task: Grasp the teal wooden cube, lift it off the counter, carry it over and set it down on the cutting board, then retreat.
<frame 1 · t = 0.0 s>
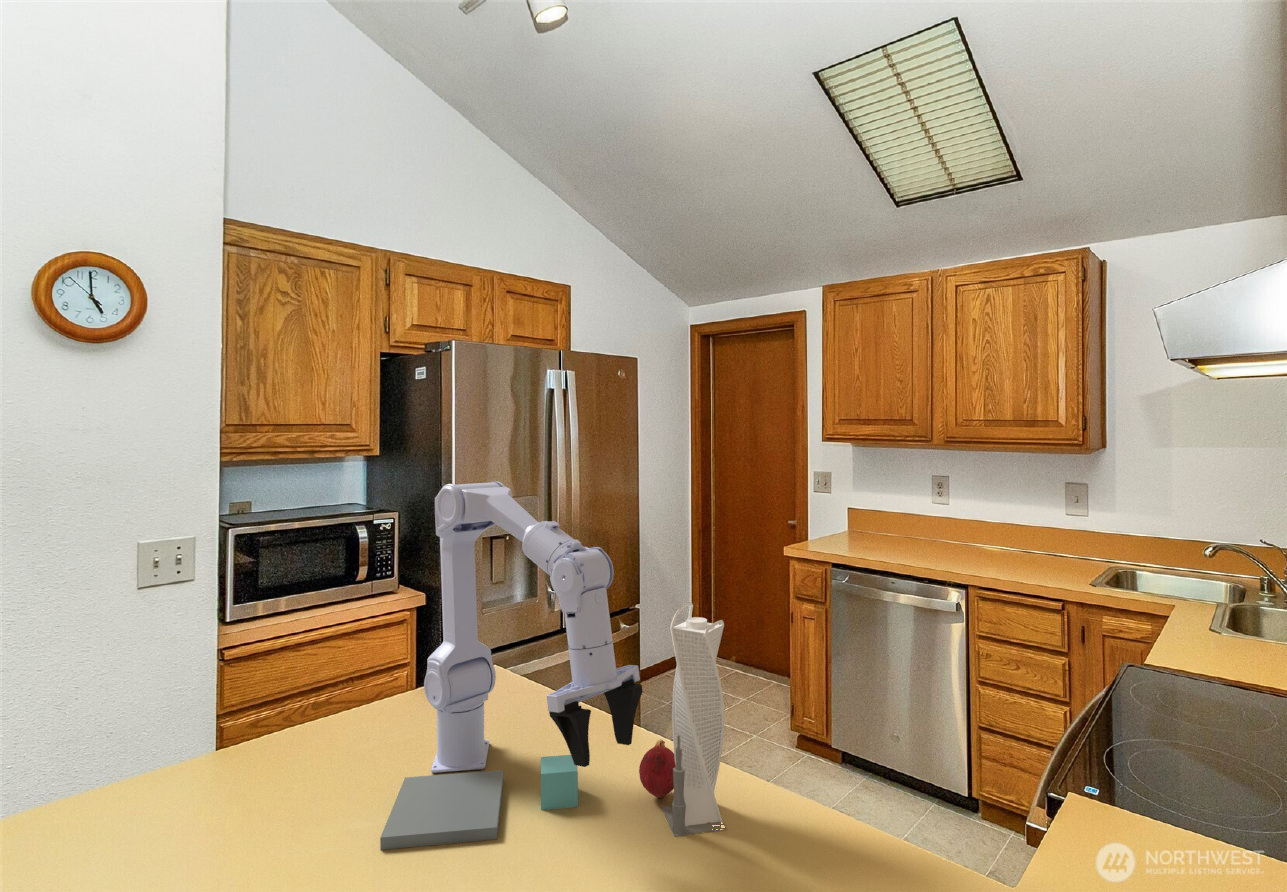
hand: (603, 753, 85), 11 cm above the counter, tool pointing down, fingers open, 7 cm apart
cube: (559, 799, 94), on the counter
cutting board: (447, 811, 91), on the counter
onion: (659, 798, 94), on the counter
skyscraper: (695, 818, 90), on the counter
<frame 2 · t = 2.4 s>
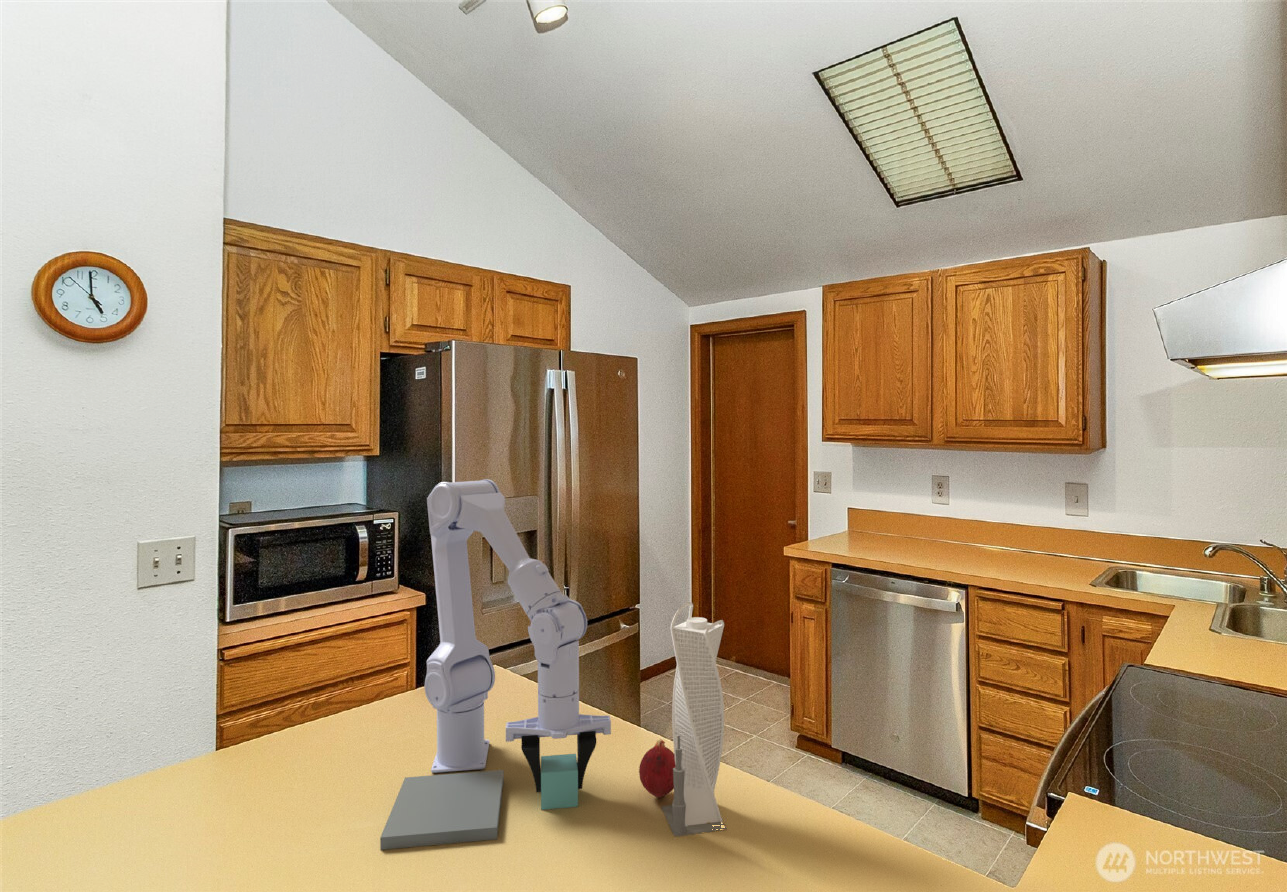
hand: (559, 786, 94), 2 cm above the counter, tool pointing down, fingers closed on cube, 5 cm apart
cube: (559, 798, 94), on the counter, touching gripper
everything else where it was.
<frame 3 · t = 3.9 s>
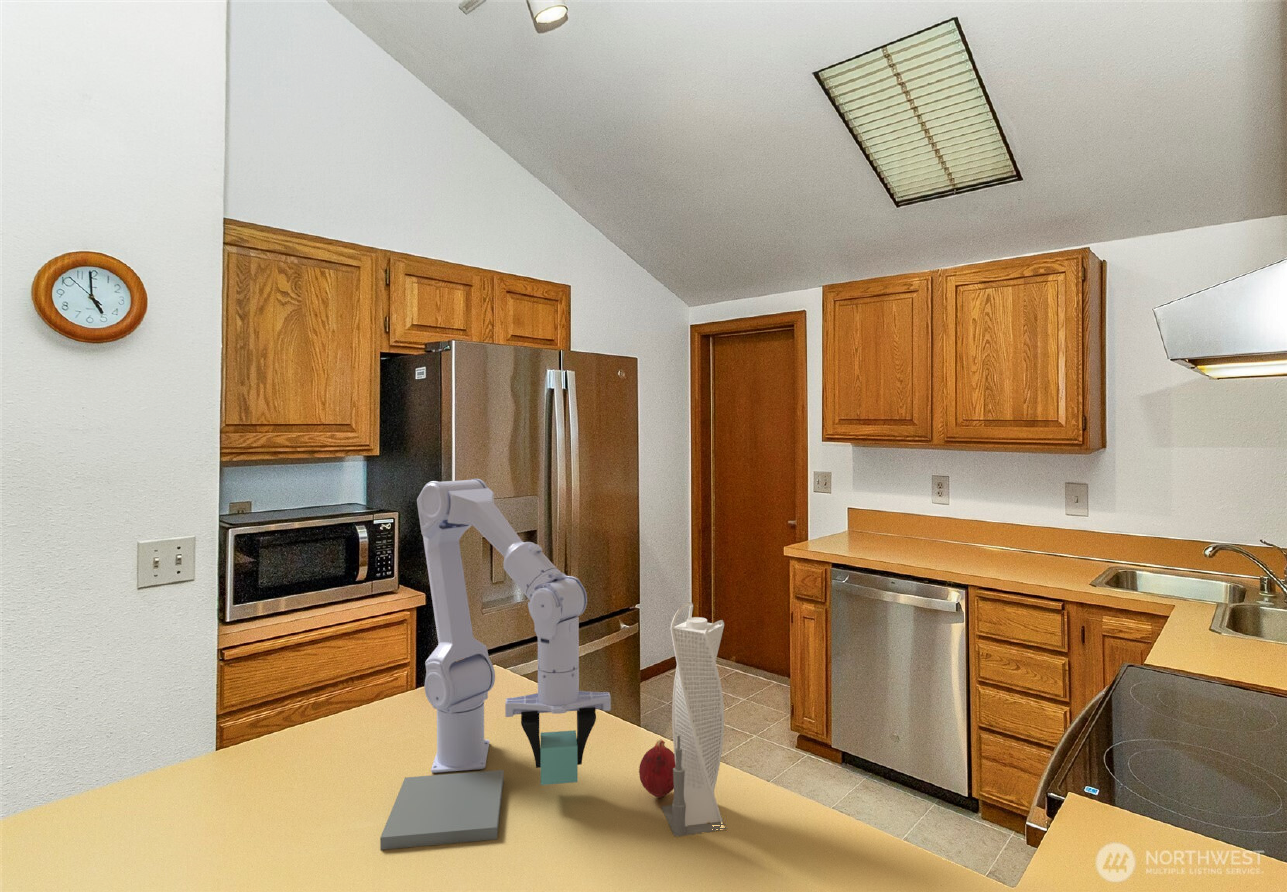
hand: (558, 762, 94), 5 cm above the counter, tool pointing down, fingers closed on cube, 5 cm apart
cube: (558, 774, 94), point 3 cm above the counter, touching gripper
everything else where it was.
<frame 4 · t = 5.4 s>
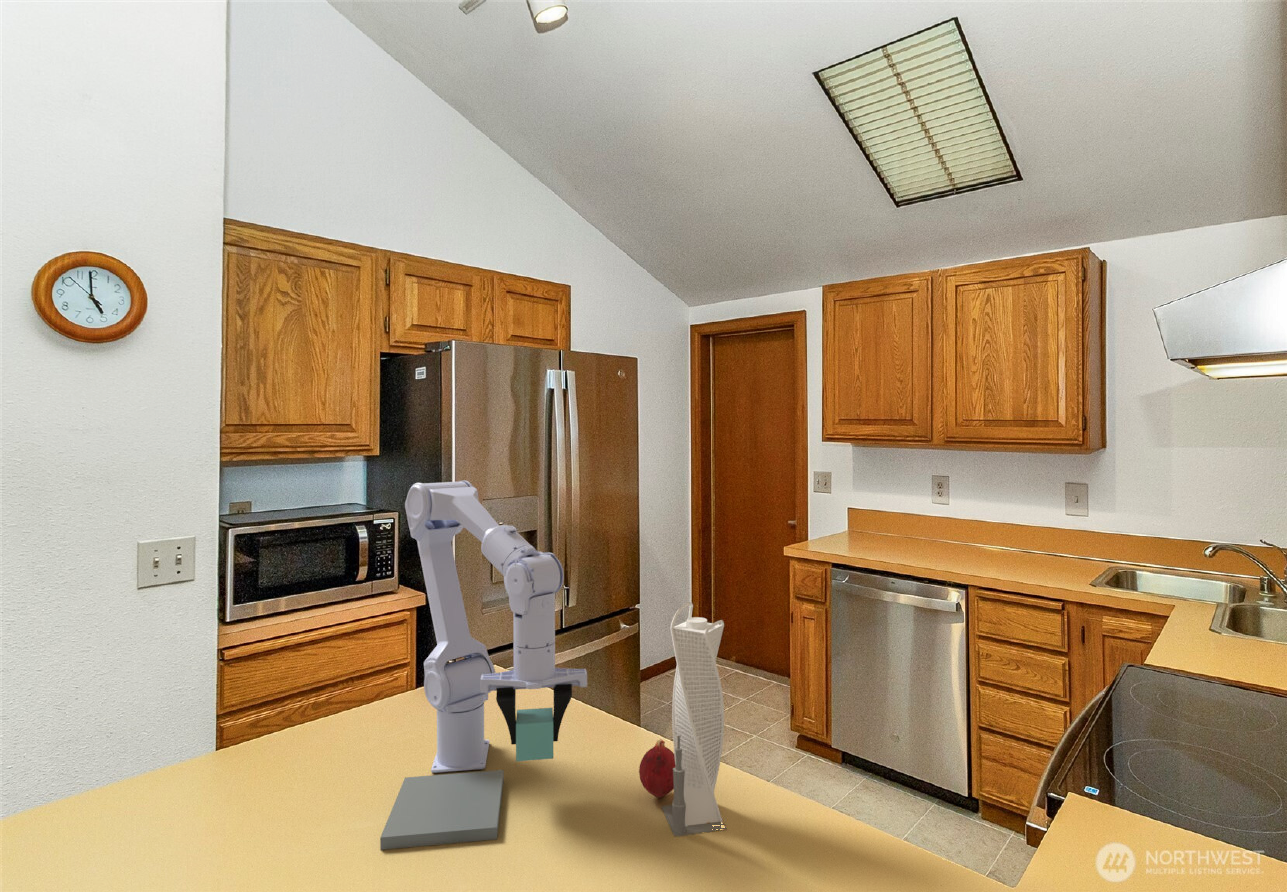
hand: (534, 739, 93), 9 cm above the counter, tool pointing down, fingers closed on cube, 5 cm apart
cube: (534, 751, 93), point 7 cm above the counter, touching gripper
everything else where it was.
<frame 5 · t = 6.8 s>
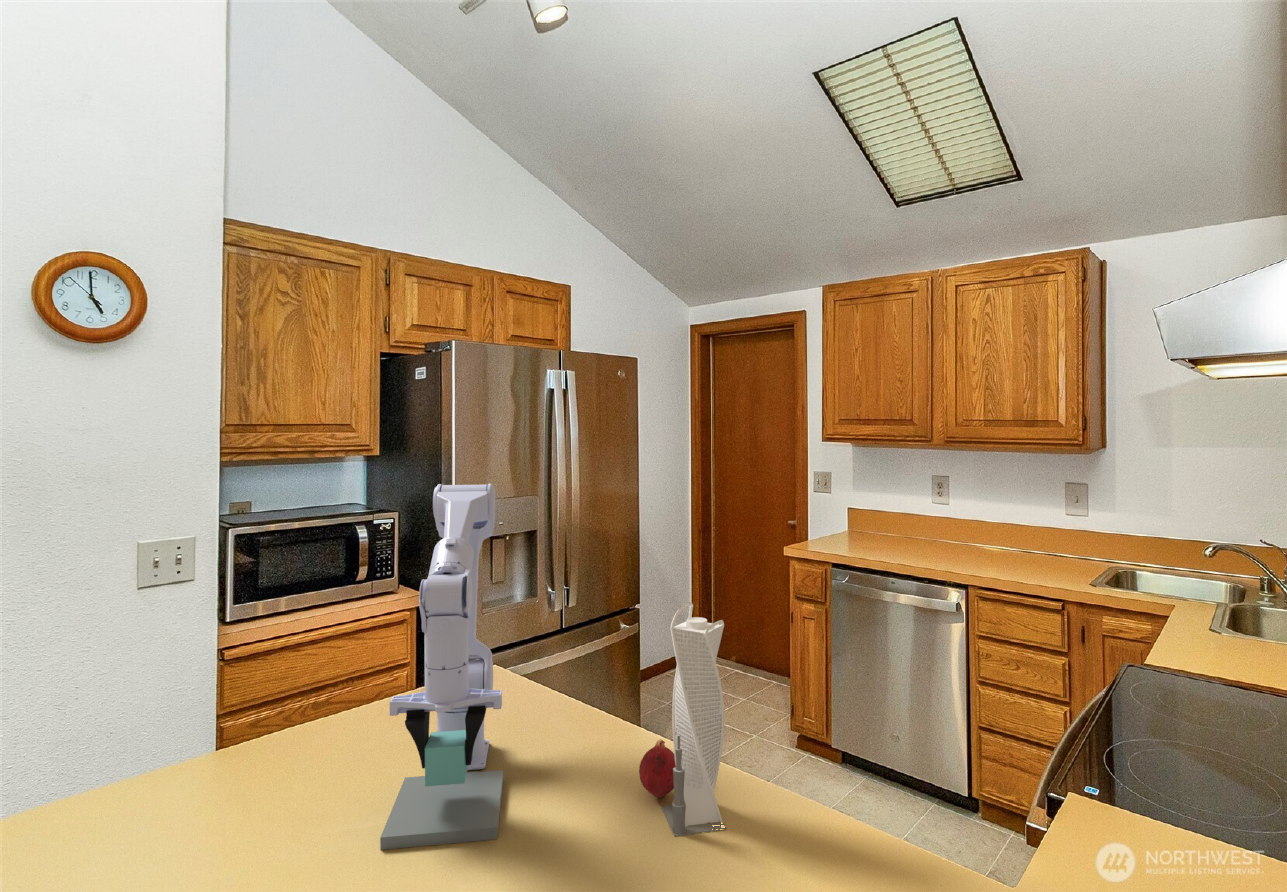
hand: (447, 763, 91), 7 cm above the counter, tool pointing down, fingers closed on cube, 5 cm apart
cube: (447, 775, 91), point 5 cm above the counter, touching gripper
everything else where it was.
when the fingers open (4 cm above the counter, at t = 8.2 s): cube stays where it is, resting on cutting board.
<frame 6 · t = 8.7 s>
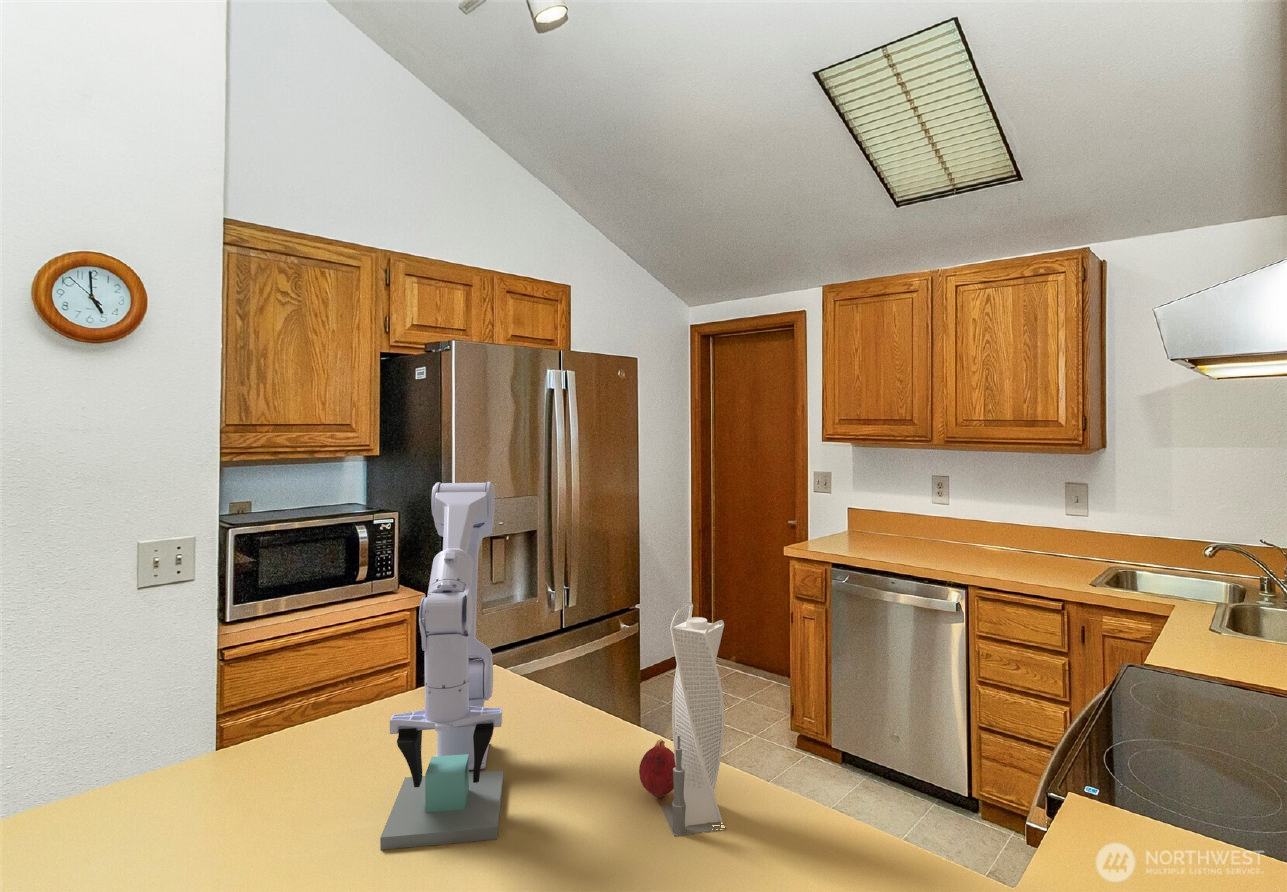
hand: (447, 781, 91), 4 cm above the counter, tool pointing down, fingers open, 7 cm apart
cube: (447, 800, 91), point 1 cm above the counter, touching cutting board
everything else where it was.
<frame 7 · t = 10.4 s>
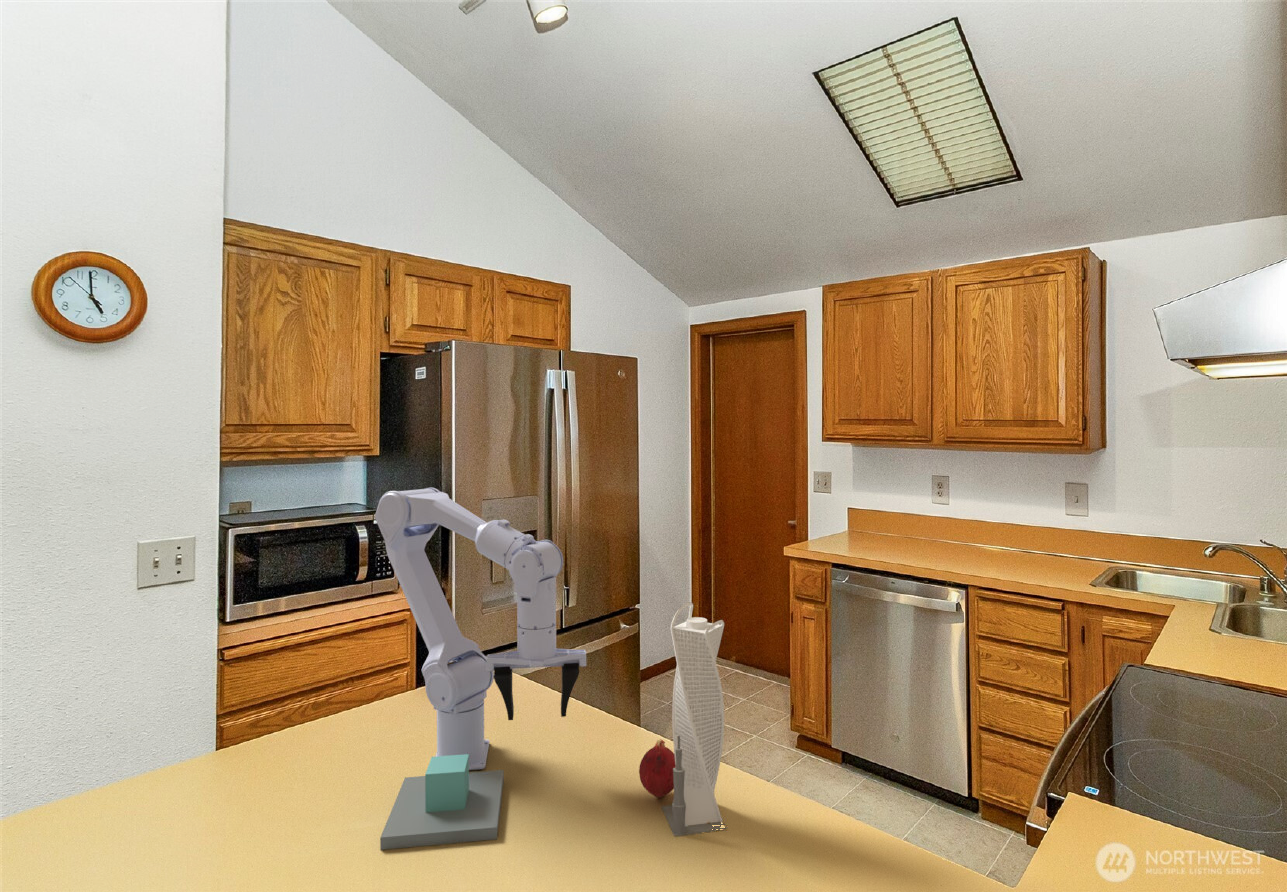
hand: (537, 715, 99), 9 cm above the counter, tool pointing down, fingers open, 7 cm apart
nothing on the counter moved.
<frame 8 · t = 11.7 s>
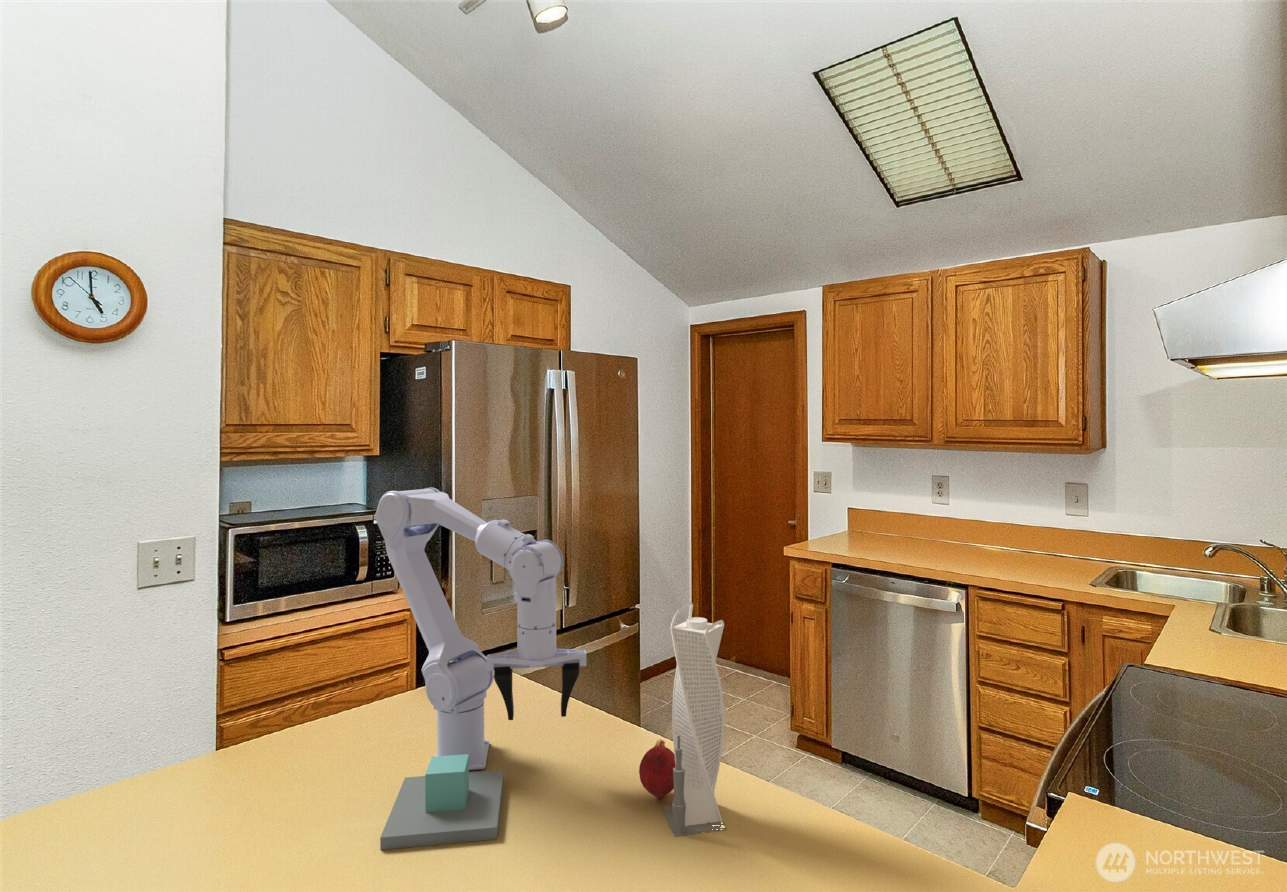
hand: (537, 715, 99), 9 cm above the counter, tool pointing down, fingers open, 7 cm apart
nothing on the counter moved.
at the end: cube inside the target area on the cutting board (0.1 cm from its centre), point 1.5 cm above the cutting board's base; cube touching cutting board; the gripper is holding nothing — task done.
